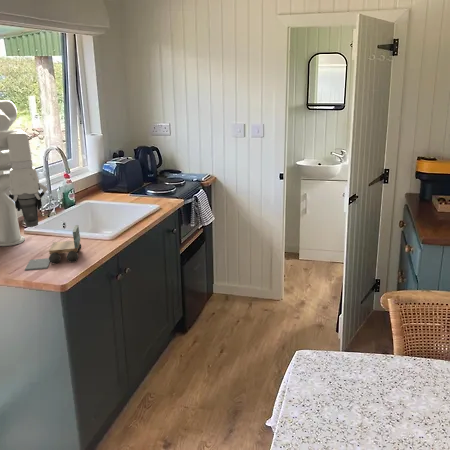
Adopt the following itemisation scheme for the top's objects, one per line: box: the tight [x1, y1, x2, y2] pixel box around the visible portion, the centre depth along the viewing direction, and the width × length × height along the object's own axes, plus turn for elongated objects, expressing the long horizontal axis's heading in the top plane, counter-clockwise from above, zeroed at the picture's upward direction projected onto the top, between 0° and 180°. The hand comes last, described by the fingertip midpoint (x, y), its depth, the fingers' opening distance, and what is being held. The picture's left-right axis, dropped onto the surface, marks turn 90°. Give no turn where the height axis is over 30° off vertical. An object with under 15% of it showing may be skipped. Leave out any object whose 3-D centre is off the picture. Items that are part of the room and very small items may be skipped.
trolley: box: [48, 224, 82, 265], centre depth 208 cm, size 12×13×12 cm
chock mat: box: [24, 257, 51, 271], centre depth 203 cm, size 9×10×1 cm
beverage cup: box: [18, 193, 39, 228], centre depth 195 cm, size 7×7×20 cm
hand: (29, 209), depth 196 cm, fingers closed on beverage cup, 6 cm apart
